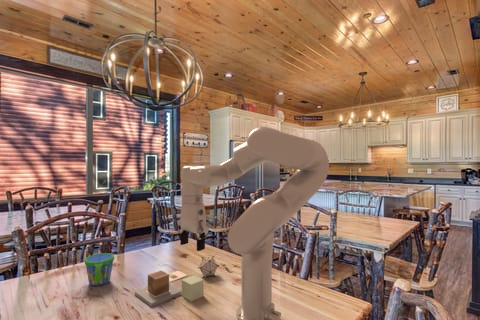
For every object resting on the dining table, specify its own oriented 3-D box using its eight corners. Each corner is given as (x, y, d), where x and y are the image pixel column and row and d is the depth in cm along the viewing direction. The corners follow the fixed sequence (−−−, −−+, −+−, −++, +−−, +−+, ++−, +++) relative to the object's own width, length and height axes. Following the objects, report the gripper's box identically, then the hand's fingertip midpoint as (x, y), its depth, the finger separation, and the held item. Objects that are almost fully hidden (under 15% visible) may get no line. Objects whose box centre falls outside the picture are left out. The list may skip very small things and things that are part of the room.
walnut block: (169, 290, 100) (169, 274, 100) (155, 296, 96) (155, 279, 96) (161, 286, 104) (161, 270, 104) (147, 291, 100) (147, 274, 100)
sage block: (203, 296, 99) (203, 279, 99) (191, 301, 95) (191, 284, 95) (194, 291, 103) (194, 275, 103) (181, 296, 99) (181, 279, 99)
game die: (211, 286, 114) (214, 273, 109) (193, 277, 116) (195, 263, 110) (220, 269, 122) (223, 255, 116) (203, 260, 123) (205, 247, 117)
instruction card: (187, 275, 116) (187, 274, 116) (166, 283, 109) (166, 282, 109) (178, 271, 121) (178, 270, 121) (157, 278, 113) (157, 277, 113)
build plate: (181, 294, 100) (181, 290, 100) (151, 307, 91) (151, 303, 91) (164, 284, 108) (164, 280, 108) (134, 294, 100) (134, 291, 100)
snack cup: (111, 289, 104) (111, 262, 104) (79, 293, 101) (79, 266, 101) (116, 273, 119) (116, 249, 119) (89, 276, 115) (89, 252, 115)
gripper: (216, 201, 96) (216, 249, 96) (186, 196, 107) (186, 239, 107) (199, 203, 90) (199, 255, 90) (170, 198, 102) (170, 244, 102)
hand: (192, 246), depth 99 cm, fingers open, 9 cm apart
